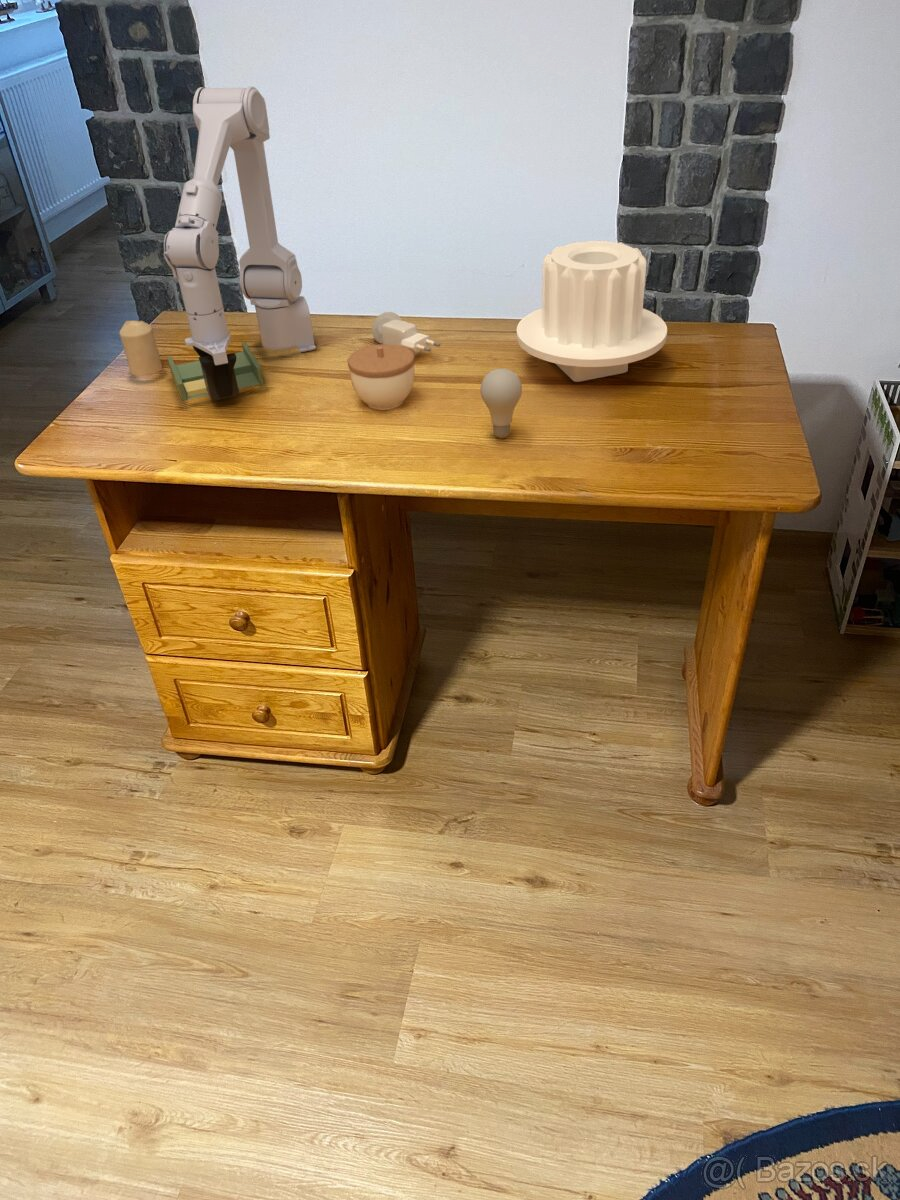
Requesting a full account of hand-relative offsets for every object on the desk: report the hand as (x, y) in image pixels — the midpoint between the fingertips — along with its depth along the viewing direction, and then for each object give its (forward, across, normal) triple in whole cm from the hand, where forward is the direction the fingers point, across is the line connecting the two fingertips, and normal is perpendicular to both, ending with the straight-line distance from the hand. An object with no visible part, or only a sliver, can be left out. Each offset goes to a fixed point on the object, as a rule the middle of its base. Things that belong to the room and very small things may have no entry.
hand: (222, 389), depth 149 cm
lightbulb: (+4, +30, +36) cm, 47 cm away
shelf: (+3, -10, 0) cm, 11 cm away
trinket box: (+4, +10, +24) cm, 27 cm away
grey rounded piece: (+4, -14, +34) cm, 36 cm away
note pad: (+2, -7, -4) cm, 8 cm away
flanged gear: (+4, +14, +60) cm, 62 cm away
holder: (0, 0, 0) cm, 0 cm away
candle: (+4, -20, -10) cm, 23 cm away
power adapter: (+4, -4, +34) cm, 35 cm away
